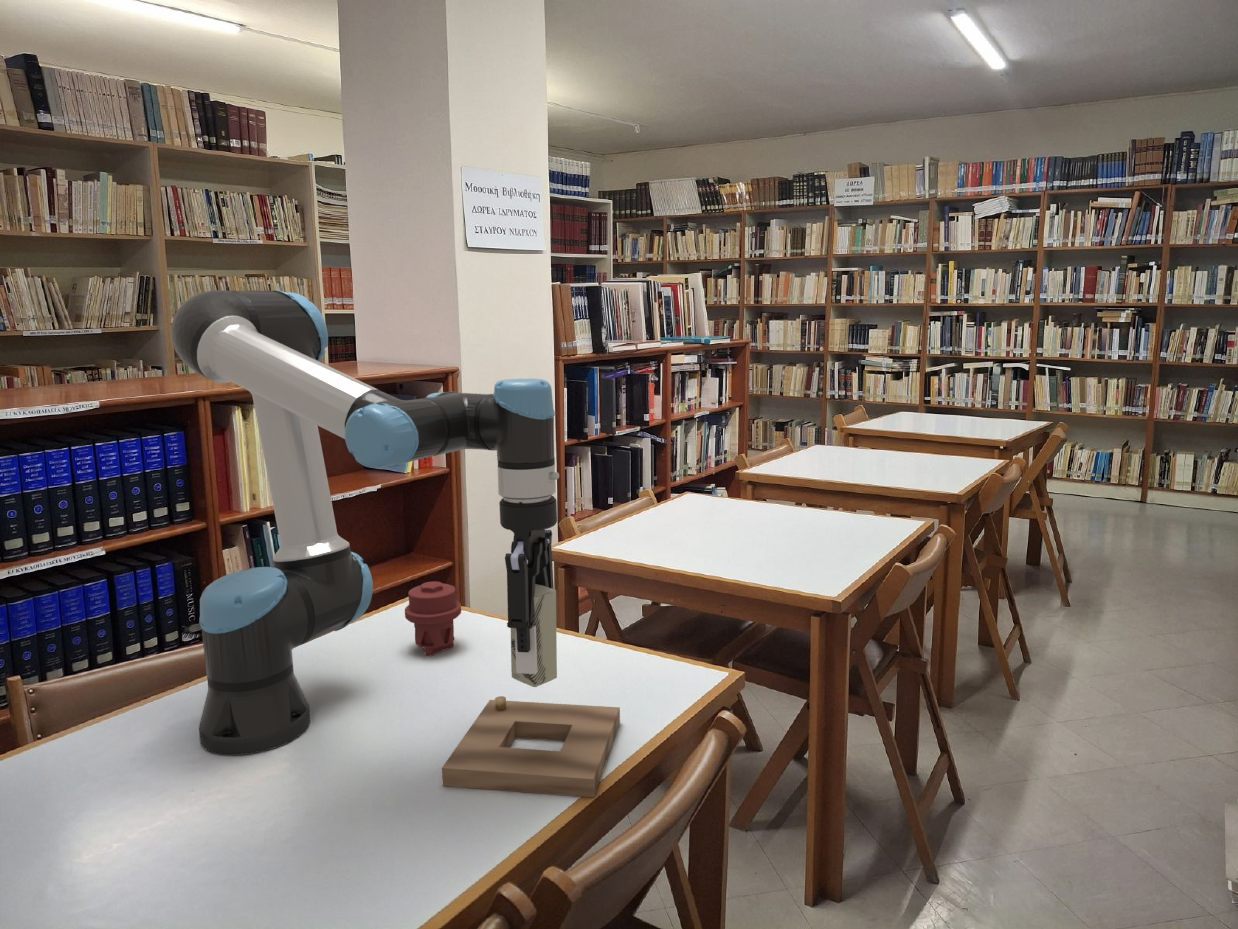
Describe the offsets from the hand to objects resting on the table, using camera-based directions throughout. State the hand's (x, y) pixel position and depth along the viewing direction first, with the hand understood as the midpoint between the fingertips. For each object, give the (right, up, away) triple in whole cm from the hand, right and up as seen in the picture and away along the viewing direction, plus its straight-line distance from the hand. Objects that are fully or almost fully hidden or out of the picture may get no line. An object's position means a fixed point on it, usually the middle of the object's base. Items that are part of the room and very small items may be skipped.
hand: (534, 662), depth 117 cm
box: (0, -3, 0) cm, 3 cm away
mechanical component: (-22, -7, +40) cm, 46 cm away
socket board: (0, -13, +2) cm, 13 cm away
